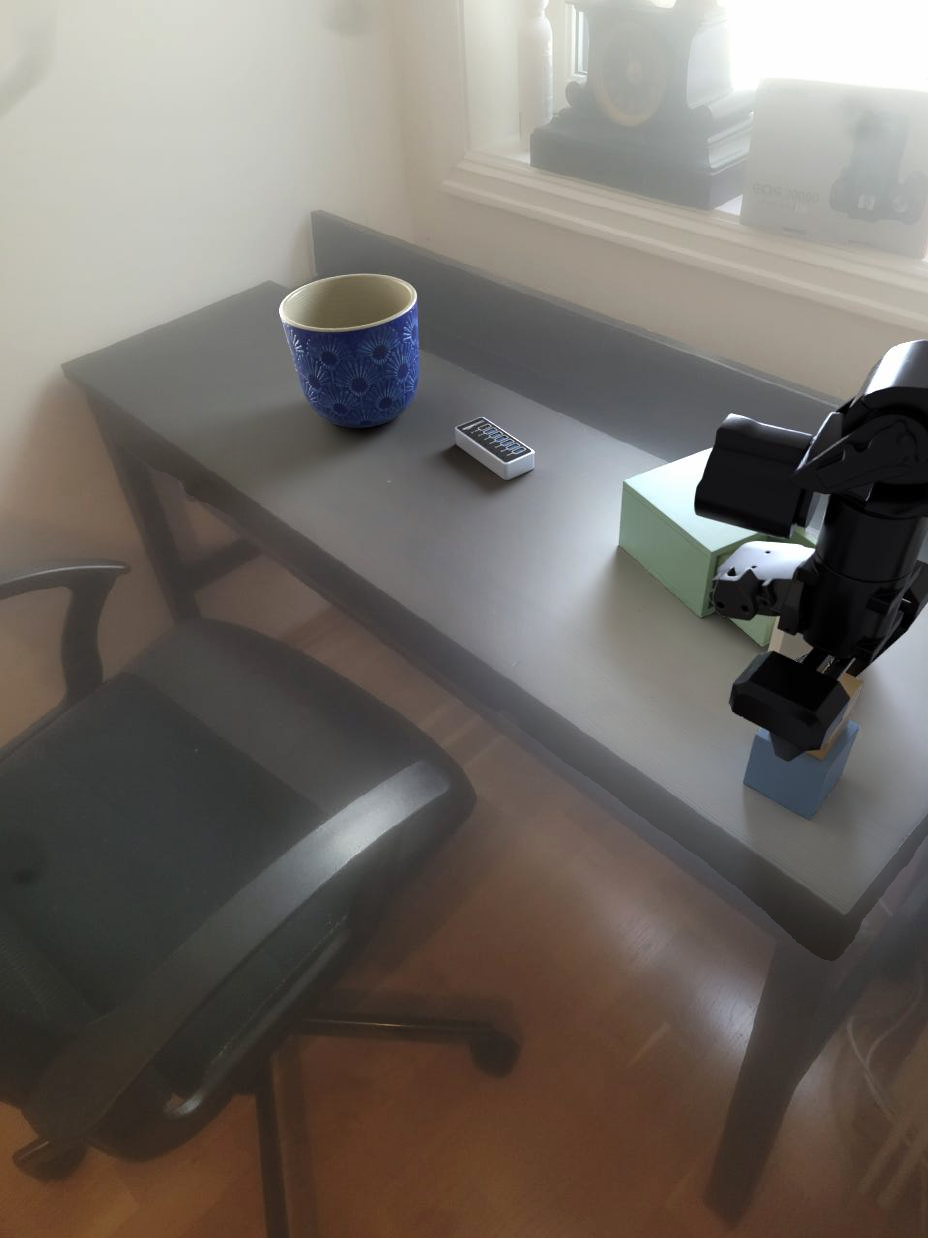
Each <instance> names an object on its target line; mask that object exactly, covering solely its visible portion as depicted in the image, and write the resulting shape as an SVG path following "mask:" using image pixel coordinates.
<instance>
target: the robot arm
mask: <svg viewBox="0 0 928 1238" xmlns="http://www.w3.org/2000/svg"><path fill="white" fill-rule="evenodd" d="M712 447H713V448H712ZM712 447H711V448H712V450H711V453H710V455H709V458H708V460H707V463H706V466H705V469H704V472H703V476H702V479H701V480H700V482H699V483H698V485H697V487H696V492H695V499H694V511H695V514H696V515H697V516H700V517H704V518H707V519H711V520H715V521H718V522H722V523H726V524H729V525H733V526H736V527H740V528H744V529H747V530H751V531H754V532H758V533H762V534H765V535H769V536H773V537H776V538H780V539H784V538H786V539H790V538H791V536H792V533H793V530H794V527H795V524H797V526H799V527H802V528H806V529H807V528H808V527H809V526H810V524H811V522H812V520H813V518H814V516H815V512H816V510H817V507H818V505H819V502H820V499H821V496H822V495H828V499H827V502H826V505H825V510H824V513H823V517H822V520H821V524H820V528H819V532H818V536H817V538H816V539H817V543H816V546H815V549H812V548H805V547H804V546H802V545H798V544H786V543H774V542H762V541H753V542H748V543H745V544H743V545H741V546H740V547H739V548H738V549H737V550H736V551H735V552H734V553H733V554H732V555H731V556H730V557H729V558H728V559H727V560H726V561H725V562H724V563H723V564H722V565H721V566H720V567H719V568H718V570H717V573H718V574H717V575H716V576H715V577H714V578H713V579H712V582H713V590H712V591H711V592H710V593H709V597H710V599H711V600H712V601H713V602H714V606H715V610H716V613H717V614H718V615H719V616H720V617H722V618H727V619H730V618H732V619H739V620H745V621H750V620H752V619H753V618H754V617H755V616H756V615H763V616H770V617H777V616H780V618H779V622H778V626H777V629H779V630H781V631H783V632H786V633H788V634H790V635H792V636H795V635H796V634H797V633H800V634H802V635H803V640H804V641H805V642H806V643H808V644H809V645H810V646H811V647H813V649H812V650H811V651H810V652H809V653H807V654H806V655H805V658H803V660H802V661H801V662H799V661H797V660H796V659H795V660H793V659H791V658H789V657H787V656H784V655H782V654H780V653H778V652H776V651H774V650H773V651H769V652H768V651H765V652H761V653H759V654H757V655H756V656H755V657H754V658H753V659H752V661H750V663H749V664H748V666H747V667H746V668H745V669H744V670H743V671H742V672H741V673H740V674H739V676H737V678H736V679H735V680H734V681H733V682H732V685H731V688H730V694H729V698H728V706H729V708H730V711H731V713H733V714H735V715H737V716H738V717H739V718H743V719H744V720H746V721H748V722H750V723H752V724H754V725H755V726H758V727H760V728H761V727H762V728H764V729H765V730H767V731H769V734H770V738H771V742H772V746H773V749H774V753H775V755H776V756H777V757H779V758H781V759H783V760H785V761H787V762H790V761H792V760H793V759H795V758H796V757H798V756H799V755H801V754H802V753H804V752H805V751H815V750H820V749H821V748H822V747H823V745H824V744H825V743H826V741H827V740H828V739H829V737H830V736H831V735H832V733H833V732H834V730H835V729H836V728H837V726H838V725H839V724H840V722H841V721H842V719H843V718H842V717H843V715H844V713H845V711H846V710H847V707H848V704H849V701H850V696H849V695H848V693H847V692H846V690H845V689H844V687H843V686H842V684H841V683H840V681H839V680H840V678H841V677H842V676H843V674H844V673H847V674H849V675H851V676H854V677H856V678H858V677H859V676H860V675H861V674H862V673H863V672H864V671H866V670H867V668H869V667H870V666H871V665H872V664H873V663H874V662H875V661H876V660H878V659H879V658H880V657H881V655H883V654H884V653H885V652H886V651H887V650H888V649H890V648H891V647H892V646H893V645H894V644H895V643H896V642H897V641H898V640H899V639H901V638H902V637H903V635H905V634H906V633H907V632H908V631H909V629H910V628H911V626H912V625H913V624H914V622H915V621H916V619H918V617H919V616H920V614H921V613H922V611H923V610H924V608H925V607H926V605H927V604H928V562H925V561H922V560H919V559H918V557H919V555H920V552H921V550H922V547H923V544H924V542H925V539H926V536H927V534H928V339H917V340H913V341H908V342H905V343H901V344H898V345H897V346H893V347H892V348H891V349H889V350H888V351H887V352H886V353H885V354H883V355H882V356H881V358H880V359H879V360H878V361H877V362H876V363H874V364H873V366H872V367H871V369H870V371H869V373H868V374H867V376H866V378H865V380H864V382H863V383H862V385H861V386H860V389H859V390H858V392H857V393H856V394H854V395H853V396H851V397H850V398H849V399H847V400H846V401H845V402H843V403H842V404H840V405H839V406H838V407H837V408H835V409H834V410H833V411H831V412H830V413H829V414H827V415H826V417H825V419H824V421H823V422H822V424H821V425H820V427H819V429H818V431H817V432H816V434H815V435H814V434H811V433H806V432H802V431H797V430H793V429H788V428H784V427H779V426H775V425H771V424H765V423H763V422H759V421H756V420H755V419H752V418H751V417H747V416H744V415H739V414H734V413H729V414H728V415H726V417H725V418H724V420H723V421H721V423H720V425H719V426H718V427H717V429H716V432H715V439H714V444H713V446H712ZM833 658H834V659H833ZM827 665H829V667H827ZM826 667H827V669H826V670H824V669H825V668H826ZM823 670H824V673H822V672H823Z"/></svg>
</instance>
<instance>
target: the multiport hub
mask: <svg viewBox="0 0 928 1238" xmlns="http://www.w3.org/2000/svg"><path fill="white" fill-rule="evenodd" d="M454 435H455V445H456V446H457V447H459V448H460V449H461V450H463V451H464V452H466V453H467V454H468V455H470V456H471V457H473V458H474V459H475V460H476V461H478V462H480V464H482V465H483V466H485V467H486V468H488V469H489V470H490V471H492V472H493V473H495V474H496V475H497V476H498V477H500V478H501V479H503V480H504V481H509V480H512V479H514V478H516V477H519V476H521V475H523V474H526V473H527V472H530V471H532V470H534V469H535V451H534V449H532V448H530V446H527V445H526V444H524V443H523V442H521V441H520V440H518V439H517V438H516V437H514V436H512V435H511V434H510V433H509V432H507V431H505V430H504V429H502V428H500V427H499V426H498V425H496V424H495V423H493V422H492V421H490V420H489V419H487V418H485V417H484V416H479V417H476V418H474V419H472V420H469V421H467V422H464V423H462V424H460V425H457V426H455V427H454Z"/></svg>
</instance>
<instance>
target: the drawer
mask: <svg viewBox="0 0 928 1238" xmlns="http://www.w3.org/2000/svg"><path fill="white" fill-rule="evenodd" d="M817 539H818V538H816V537H814V536H813V535H811V533H809V532H807V531H806V530H805V531H804V530H803V529H802V528H800V527H799V526H797V525H796V524H795V527H794V530H793V533H792V536H791V538H790V539H786V538H784V539H780V538H776V537H773V536H769V535H766V536H764V537H761V538H759V539H757V540H754V541H762V542H774V543H786V544H798V545H802V546H804V547H805V548H812V549H815V546H816V543H817ZM752 542H753V541H752ZM738 548H739V547H738ZM738 548H735V549H733V550H730V551H728V552H726V553H723V554H721V555H718V556H717V559H716V565H715V571H714V577H715V576H716V575H717V574H718V573H717V570H718V568H719V567H720V566H721V565H722V564H723V563H724V562H725V561H726V560H727V559H728V558H729V557H730V556H731V555H732V554H733V553H734V552H735V551H736V550H737V549H738ZM714 577H713V578H714ZM712 590H713V582H712V588H711V591H712ZM709 601H710V602H711V603H712V604H713V605H714V602H713V601H712V600H711V599H710V600H709ZM779 618H780V616H777V617H770V616H763V615H756V616H755V617H754V618H753V619H752V620H750V621H745V620H739V619H732V618H729V620H730V621H732V622H733V623H734V624H735V625H736V626H737V627H739V628H740V629H741V630H742V631H743V632H744V633H745V634H747V635H748V636H749V637H750V638H751V639H752V640H754V641H755V642H756V643H757V644H758V645H759V646H760V647H764V646H767V645H768V649H767V652H769V651H773V650H774V651H776V652H778V653H780V654H782V655H784V656H787V657H789V658H791V659H793V660H795V661H796V660H797V659H799V658H801V657H803V656H806V655H808V654H809V653H810V651H811V650H812V649H813V647H811V646H810V645H809V644H808V643H806V642H805V641H804V640H803V635H802V634H800V633H797V634H796V635H795V636H792V635H790V634H788V633H786V632H783V631H781V630H779V629H777V626H778V622H779ZM832 660H834V658H833V659H832Z"/></svg>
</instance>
